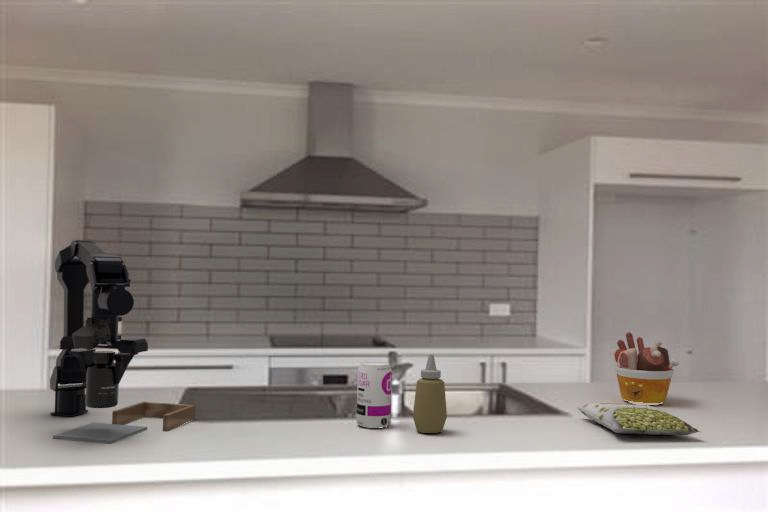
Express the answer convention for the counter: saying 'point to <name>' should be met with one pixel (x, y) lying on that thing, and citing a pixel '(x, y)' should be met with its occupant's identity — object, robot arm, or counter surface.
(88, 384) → the supplement bottle
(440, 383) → the squeeze bottle
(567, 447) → the counter surface
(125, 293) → the robot arm
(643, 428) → the frozen beans
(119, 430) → the grey mat
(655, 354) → the bucket of meat
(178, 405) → the walnut frame
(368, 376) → the supplement can
